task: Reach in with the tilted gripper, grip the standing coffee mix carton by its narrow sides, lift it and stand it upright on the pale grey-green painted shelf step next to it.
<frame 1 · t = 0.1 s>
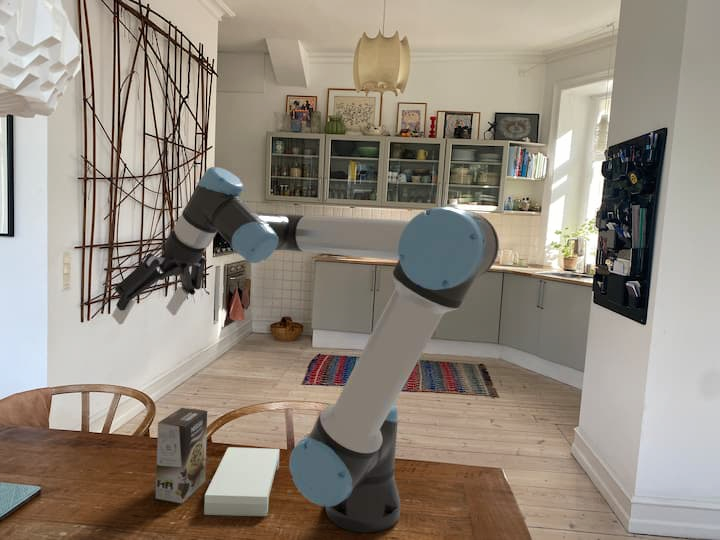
hand: (145, 315, 103), 36 cm above the table, tool tilted 35°, fingers open, 13 cm apart
shelf step: (245, 487, 104), on the table
coffee box: (181, 490, 101), on the table
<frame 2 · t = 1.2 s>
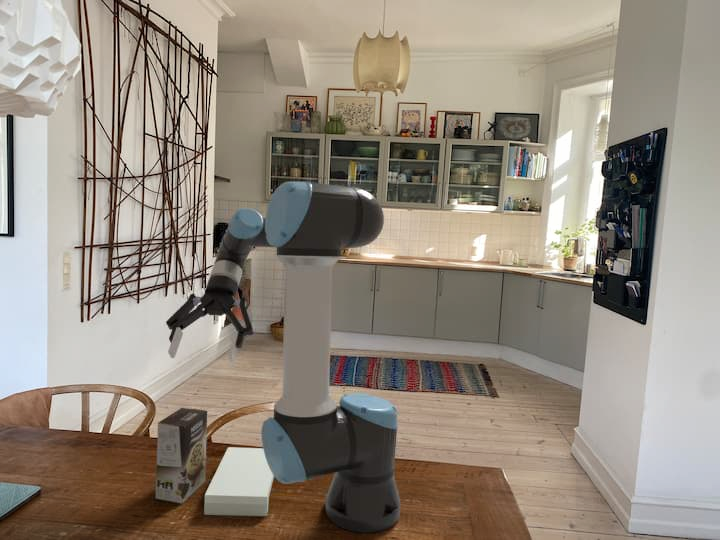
hand: (201, 357, 109), 26 cm above the table, tool tilted 45°, fingers open, 13 cm apart
nothing on the table moved.
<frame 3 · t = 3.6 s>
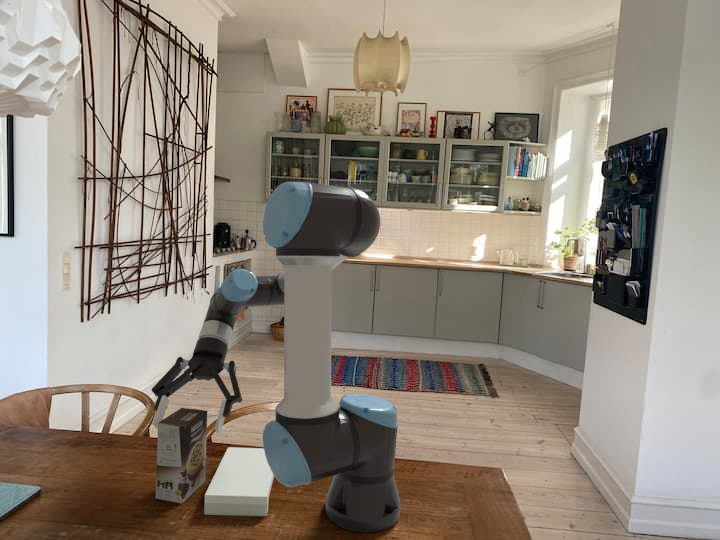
hand: (186, 428, 104), 12 cm above the table, tool tilted 45°, fingers open, 13 cm apart
nothing on the table moved.
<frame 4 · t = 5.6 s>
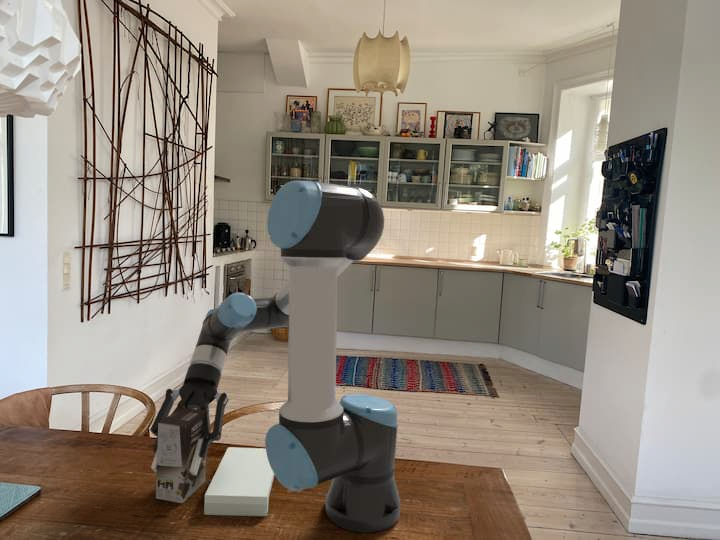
hand: (174, 471, 97), 6 cm above the table, tool tilted 45°, fingers closed on coffee box, 7 cm apart
coffee box: (181, 490, 101), on the table, touching gripper
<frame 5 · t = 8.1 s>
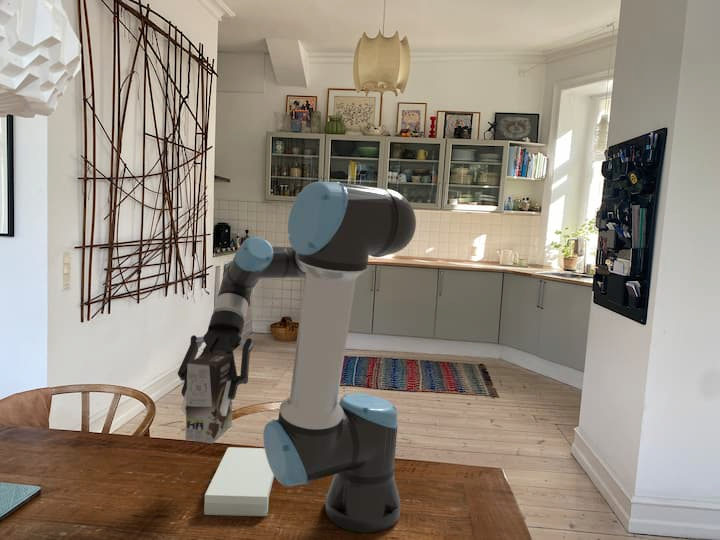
hand: (203, 412, 97), 18 cm above the table, tool tilted 45°, fingers closed on coffee box, 7 cm apart
coffee box: (209, 433, 101), point 12 cm above the table, touching gripper
when the fingers open (12 cm above the table, at t = 10.5 s): coffee box drops 2 cm, resting on shelf step.
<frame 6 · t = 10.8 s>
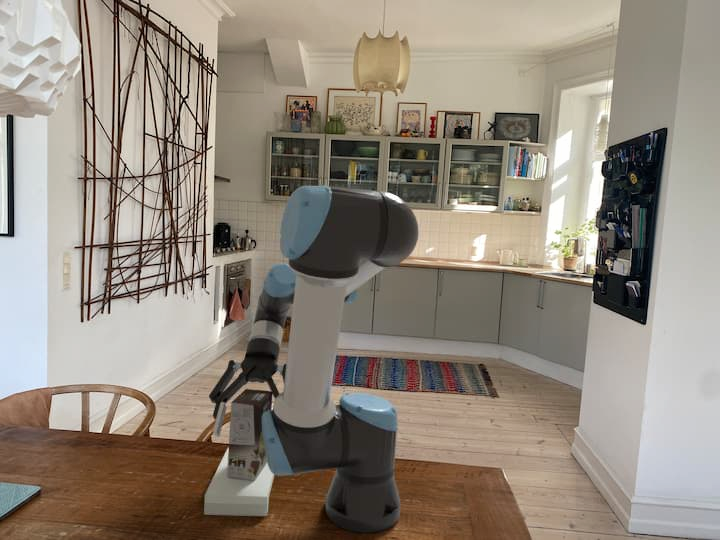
hand: (243, 436, 100), 13 cm above the table, tool tilted 45°, fingers open, 11 cm apart
coffee box: (248, 469, 104), point 4 cm above the table, touching shelf step
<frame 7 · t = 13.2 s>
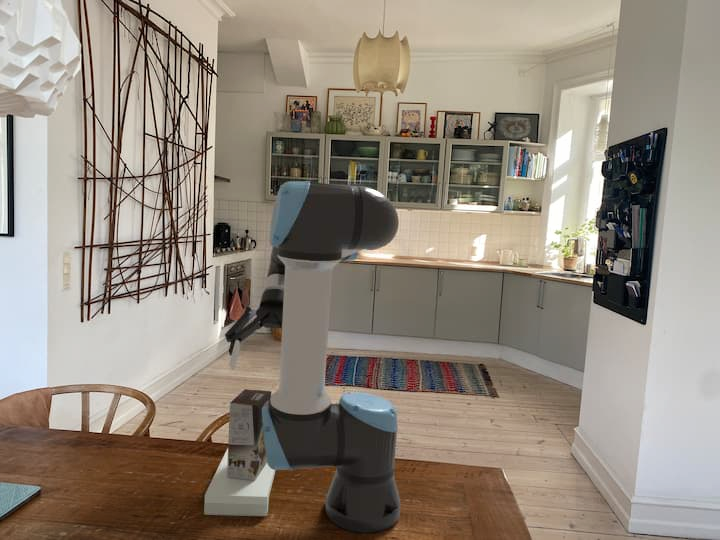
hand: (260, 369, 112), 23 cm above the table, tool tilted 45°, fingers open, 13 cm apart
nothing on the table moved.
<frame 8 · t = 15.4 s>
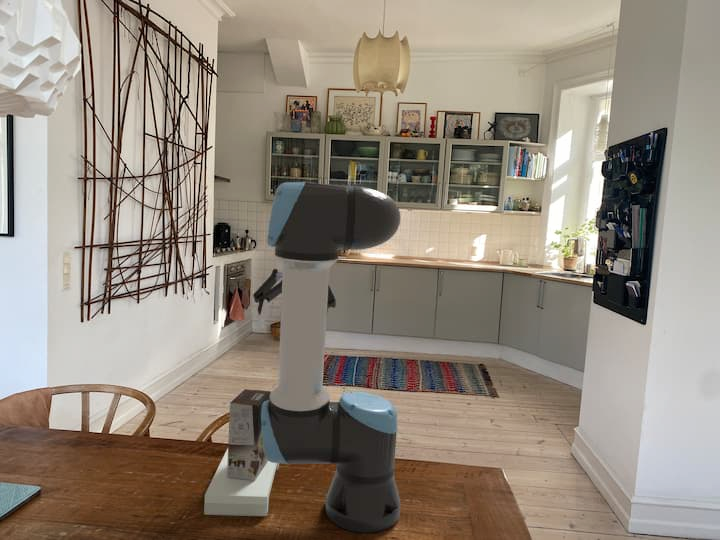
hand: (289, 327, 114), 33 cm above the table, tool tilted 45°, fingers open, 13 cm apart
nothing on the table moved.
at the end: coffee box inside the target area on the shelf step (0.6 cm from its centre), point 3.8 cm above the shelf step's base; coffee box tilted 0°; the gripper is holding nothing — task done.
